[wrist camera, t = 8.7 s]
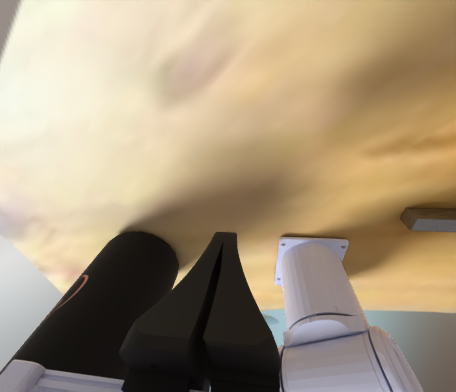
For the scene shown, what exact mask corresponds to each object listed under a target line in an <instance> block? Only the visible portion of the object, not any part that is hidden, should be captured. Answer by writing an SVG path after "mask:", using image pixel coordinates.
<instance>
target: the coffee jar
mask: <svg viewBox="0 0 456 392" xmlns="http://www.w3.org/2000/svg"><path fill="white" fill-rule="evenodd" d="M178 269H179V264H178V261H177V257H176V254H175V252H174V251H173V249H172V248H171V247H170V245H168V244H167V243H166V242H165V241H163V240H162V239H160V238H158V237H156V236H154V235H152V234H148V233H144V232H129V233H125V234H122V235H118V236H116V237H115V238H113V239H112V240H111V241H109V242H108V243H107V245H106V246H105V247H104V248H103V249H102V251H101V252H100V253H99V254H98V255H97V257H96V258H95V259H94V260H93V261H92V263H91V264H90V265H89V266H88V267H87V269H86V270H85V271H84V272H83V273H82V275H81V276H80V277H79V278H78V279H77V281H76V282H75V283H74V284H73V285H72V287H71V288H70V289H69V290H68V291H67V293H66V294H65V295H64V296H63V297H62V299H61V300H60V301H59V302H58V303H57V305H56V306H55V307H54V308H53V309H52V311H51V312H50V313H49V314H48V315H47V317H46V318H45V319H44V320H43V321H42V323H41V324H40V325H39V326H38V327H37V329H36V330H35V331H34V332H33V333H32V335H31V336H30V337H29V338H28V339H27V341H26V342H25V343H24V344H23V345H22V346H21V348H20V349H19V350H18V351H17V353H16V354H15V355H14V356H13V357H12V359H11V360H10V361H9V362H8V364H7V365H6V366H5V367H4V368H3V369H2V371H1V372H0V375H1V374H2V373H3V371H4V370H5V369H6V368H7V366H8V365H9V364H10V363H11V362H12V360H15V359H16V360H23V361H31V362H35V363H38V364H40V365H42V366H43V367H44V368H45V369H47V370H54V371H62V372H69V373H76V374H83V375H90V376H97V377H104V378H112V379H119V380H125V378H126V376H127V373H128V371H129V367H128V366H127V364H126V363H125V362H124V361H123V360H122V359H121V357H120V354H119V351H120V349H121V346H122V344H123V342H124V340H125V338H126V336H127V334H128V332H129V330H130V329H131V327H132V325H133V324H134V322H135V320H136V319H138V318H139V317H140V316H142V315H143V314H144V313H146V312H147V311H148V310H149V309H151V308H152V307H153V306H155V305H156V304H157V303H158V302H159V301H160V300H161V299H163V298H164V297H165V296H166V295H167V294H168V293H169V292H170V291H171V290H172V288H173V285H174V283H175V280H176V277H177V274H178Z"/></svg>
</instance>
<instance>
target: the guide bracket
mask: <svg viewBox="0 0 456 392" xmlns="http://www.w3.org/2000/svg"><path fill="white" fill-rule="evenodd" d="M400 220H401V221H402V222H403V223H404V224H405V225H406V226H407V227H408V228H409V229H410V230H411V231H438V232H456V209H431V208H406V209H405V211H404V213H403V214H402V216H401V218H400Z"/></svg>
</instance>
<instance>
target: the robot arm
mask: <svg viewBox="0 0 456 392" xmlns="http://www.w3.org/2000/svg"><path fill="white" fill-rule="evenodd" d="M282 243H284V244H282ZM348 245H349V242H348V240H346V239H329V238H303V237H281V238H280V239H279V247H278V255H277V264H276V273H275V285H278V286H282V290H283V298H284V306H285V314H286V322H287V328H288V331H286V332H283V340H284V345H281V346H280V347H279V348H277V345H276V342H275V340H274V337H273V334H272V332H271V330H270V328H269V326H268V325H267V323H266V321H265V319H264V318H263V316H262V314H261V312H260V310H259V308H258V306H257V304H256V302H255V299H254V297H253V295H252V293H251V291H250V288H249V286H248V283H247V281H246V278H245V275H244V272H243V269H242V266H241V262H240V258H239V254H238V249H237V234H236V233H230V232H216V233H215V235H214V236H213V238H212V240H211V242H210V243H209V245H208V247H207V248H206V250H205V251H204V253H203V254H202V256H201V257H200V258H199V260H198V261H197V262H196V264H195V265H194V266H193V268H192V269H191V270H190V271H189V272H188V274H187V275H186V276H185V277H184V278H183V279H182V280H181V281H180V282H179V283H178V284H177V285H176V287H175V288H174V289H172V290H171V291H170V292H169V293H168V294H167V295H166V296H165V297H164V298H163V299H161V300H160V301H159V302H158V303H157V304H156V305H155V306H153V307H152V308H151V309H149V310H148V311H147V312H146V313H144V314H143V315H142V316H140V317H139V318H138V319H136V320H135V322H134V324H133V325H132V327H131V329H130V330H129V332H128V334H127V336H126V338H125V340H124V342H123V344H122V346H121V349H120V351H119V354H120V357H121V359H122V360H123V361H124V362H125V363H126V364H127V366H128V367H129V371H128V373H127V376H126V378H125V380H119V379H112V378H104V377H97V376H90V375H83V374H76V373H69V372H62V371H54V370H47V369H45V368H44V367H43V366H42V365H40V364H38V363H35V362H31V361H23V360H16V359H15V360H12V362H11V363H10V364H9V365H8V366H7V368H6V369H5V370H4V371H3V373H2V374H1V375H0V392H209V387H210V386H211V392H423V390H422V387H421V386H420V384H419V382H418V380H417V378H416V376H415V374H414V373H413V371H412V369H411V367H410V365H409V364H408V362H407V360H406V358H405V357H404V355H403V354H402V352H401V350H400V349H399V347H398V345H397V344H396V342H395V341H394V339H393V338H392V337H391V336H390V334H388V333H387V332H385V331H383V330H381V329H380V328H379V327H378V326H373V327H370V326H369V324H368V322H367V320H366V317H365V315H364V313H363V310H362V308H361V306H360V304H359V301H358V299H357V297H356V295H355V292H354V290H353V288H352V285H351V283H350V281H349V279H348V276H347V274H346V272H345V270H344V267H343V265H342V261H343V258H344V256H345V253H346V250H347V248H348Z"/></svg>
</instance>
